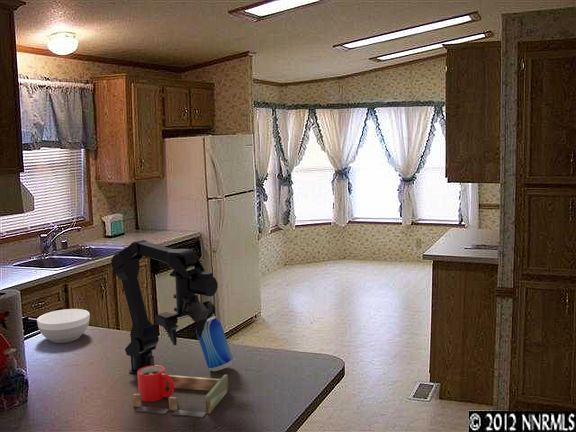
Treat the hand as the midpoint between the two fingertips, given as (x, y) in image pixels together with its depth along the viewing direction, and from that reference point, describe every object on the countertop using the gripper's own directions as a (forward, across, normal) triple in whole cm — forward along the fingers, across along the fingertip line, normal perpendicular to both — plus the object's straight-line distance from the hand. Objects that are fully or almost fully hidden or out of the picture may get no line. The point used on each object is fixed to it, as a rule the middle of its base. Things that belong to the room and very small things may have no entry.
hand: (187, 341), depth 184 cm
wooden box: (+13, -9, -9) cm, 18 cm away
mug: (+14, -12, -1) cm, 18 cm away
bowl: (+15, -6, +70) cm, 72 cm away
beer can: (+12, +13, -1) cm, 18 cm away
